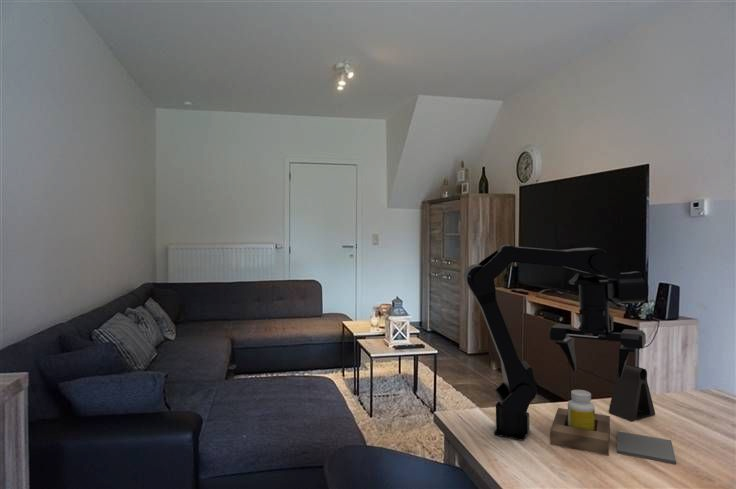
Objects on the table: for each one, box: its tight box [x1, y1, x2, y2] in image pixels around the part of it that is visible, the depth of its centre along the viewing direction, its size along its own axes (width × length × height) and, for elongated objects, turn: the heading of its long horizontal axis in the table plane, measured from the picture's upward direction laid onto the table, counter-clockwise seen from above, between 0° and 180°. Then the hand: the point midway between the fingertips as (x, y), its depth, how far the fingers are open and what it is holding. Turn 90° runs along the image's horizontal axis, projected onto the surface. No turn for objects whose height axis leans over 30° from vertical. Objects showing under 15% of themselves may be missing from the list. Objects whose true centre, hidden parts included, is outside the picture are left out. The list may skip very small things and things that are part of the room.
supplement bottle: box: [567, 389, 596, 431], centre depth 99 cm, size 5×5×10 cm
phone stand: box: [608, 363, 656, 423], centre depth 111 cm, size 9×6×12 cm, turn 115°
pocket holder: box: [549, 407, 611, 456], centre depth 100 cm, size 11×14×3 cm
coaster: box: [616, 430, 677, 465], centre depth 94 cm, size 10×10×1 cm
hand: (596, 373), depth 100 cm, fingers open, 9 cm apart
